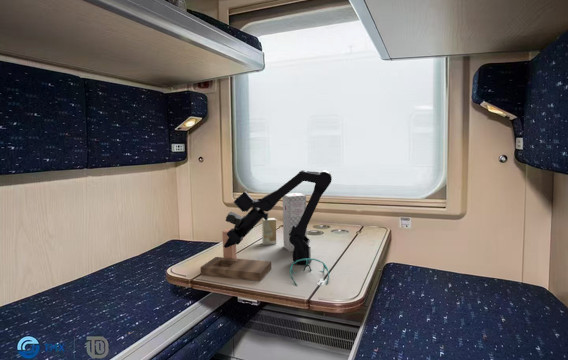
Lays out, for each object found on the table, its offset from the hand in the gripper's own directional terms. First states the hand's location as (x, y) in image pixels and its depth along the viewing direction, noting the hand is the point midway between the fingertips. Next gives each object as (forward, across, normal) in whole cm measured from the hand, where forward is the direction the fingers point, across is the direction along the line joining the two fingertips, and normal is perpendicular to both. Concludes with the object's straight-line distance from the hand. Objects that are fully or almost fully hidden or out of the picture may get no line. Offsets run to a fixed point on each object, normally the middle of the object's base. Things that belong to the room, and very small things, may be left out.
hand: (226, 245), depth 145 cm
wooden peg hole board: (-1, +12, +10) cm, 16 cm away
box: (-14, -19, +24) cm, 34 cm away
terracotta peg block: (+4, 0, +6) cm, 7 cm away
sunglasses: (-20, +15, +30) cm, 39 cm away
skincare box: (-5, -25, +15) cm, 30 cm away
